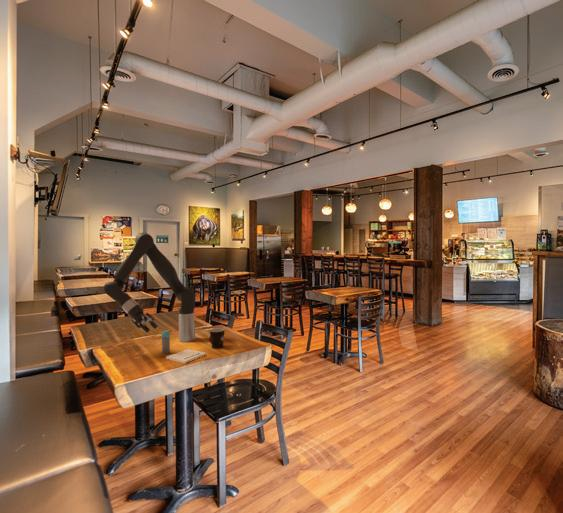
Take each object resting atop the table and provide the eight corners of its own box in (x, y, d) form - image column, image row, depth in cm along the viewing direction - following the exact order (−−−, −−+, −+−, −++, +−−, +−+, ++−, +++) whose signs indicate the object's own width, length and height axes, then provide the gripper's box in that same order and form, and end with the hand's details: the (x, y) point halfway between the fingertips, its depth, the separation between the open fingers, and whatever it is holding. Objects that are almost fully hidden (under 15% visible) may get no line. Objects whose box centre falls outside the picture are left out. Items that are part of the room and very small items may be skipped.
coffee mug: (219, 344, 197) (219, 327, 197) (227, 346, 191) (227, 330, 190) (202, 348, 189) (202, 331, 188) (210, 351, 183) (210, 333, 182)
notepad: (187, 351, 184) (187, 348, 184) (206, 355, 176) (206, 352, 176) (166, 359, 171) (166, 356, 171) (184, 363, 164) (184, 361, 164)
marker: (166, 351, 184) (166, 330, 183) (171, 352, 181) (171, 331, 181) (160, 353, 180) (159, 332, 180) (165, 354, 178) (165, 333, 177)
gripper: (129, 306, 175) (150, 328, 174) (143, 302, 189) (163, 322, 188) (120, 316, 176) (141, 337, 175) (135, 311, 190) (154, 331, 189)
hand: (152, 329), depth 181 cm, fingers open, 8 cm apart
